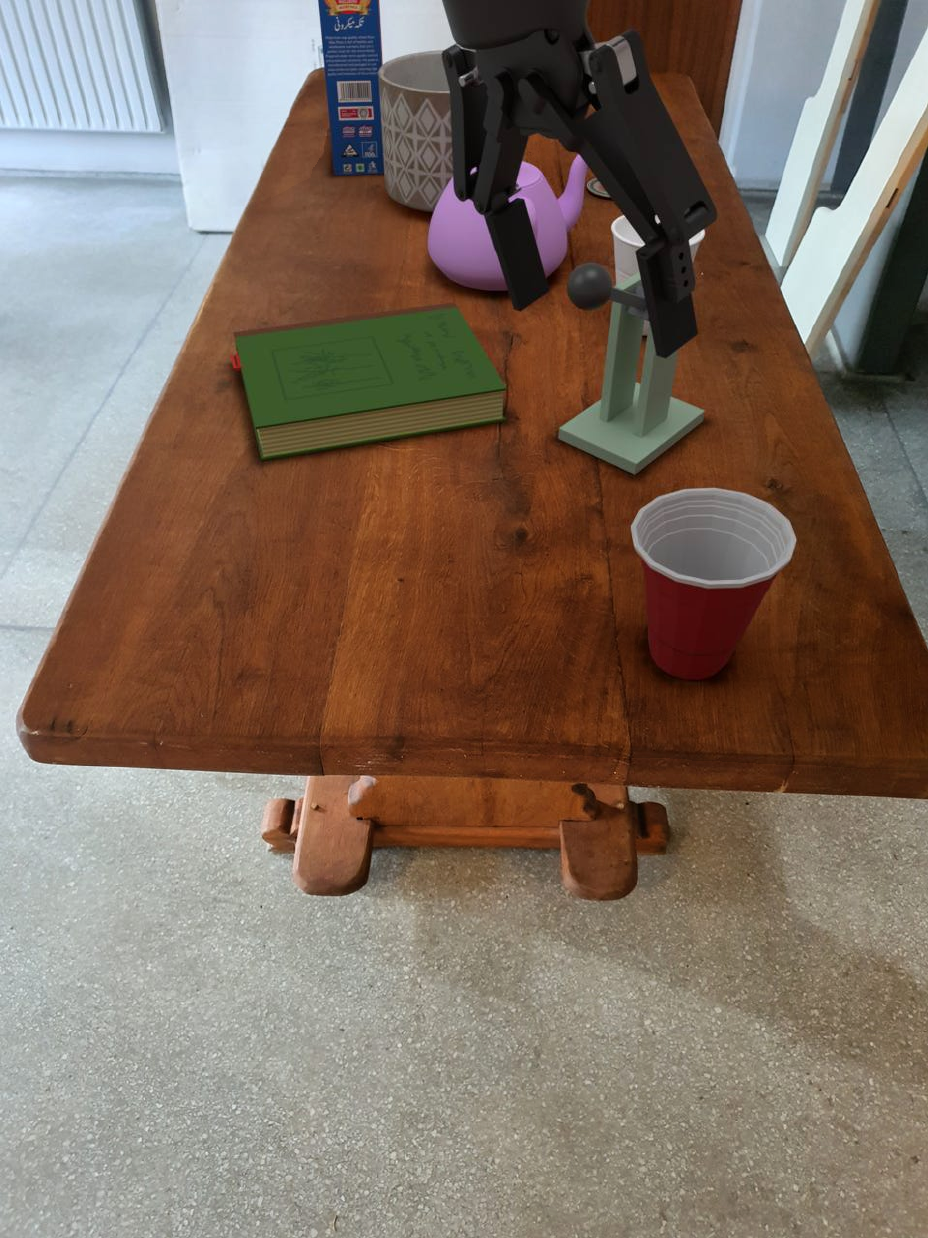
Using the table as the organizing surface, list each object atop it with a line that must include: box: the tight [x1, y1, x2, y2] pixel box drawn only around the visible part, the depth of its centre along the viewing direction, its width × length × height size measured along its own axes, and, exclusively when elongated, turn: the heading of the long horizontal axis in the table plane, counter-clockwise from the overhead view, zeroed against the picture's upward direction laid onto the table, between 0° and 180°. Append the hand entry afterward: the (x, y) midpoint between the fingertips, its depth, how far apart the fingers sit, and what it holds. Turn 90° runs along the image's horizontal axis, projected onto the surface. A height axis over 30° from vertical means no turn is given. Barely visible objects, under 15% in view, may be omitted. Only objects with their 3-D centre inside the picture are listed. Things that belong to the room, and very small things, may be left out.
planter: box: [378, 49, 453, 213], centre depth 130 cm, size 19×19×16 cm
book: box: [230, 301, 507, 462], centre depth 97 cm, size 25×19×4 cm
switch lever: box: [566, 262, 649, 321], centre depth 79 cm, size 14×4×4 cm, turn 138°
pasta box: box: [317, 0, 384, 176], centre depth 142 cm, size 28×8×28 cm, turn 4°
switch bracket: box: [557, 272, 706, 476], centre depth 88 cm, size 12×9×15 cm
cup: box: [610, 214, 706, 337], centre depth 105 cm, size 10×10×11 cm
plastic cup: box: [630, 487, 798, 681], centre depth 67 cm, size 11×11×12 cm
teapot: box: [427, 153, 589, 292], centre depth 114 cm, size 22×22×14 cm
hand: (599, 321), depth 60 cm, fingers open, 13 cm apart
